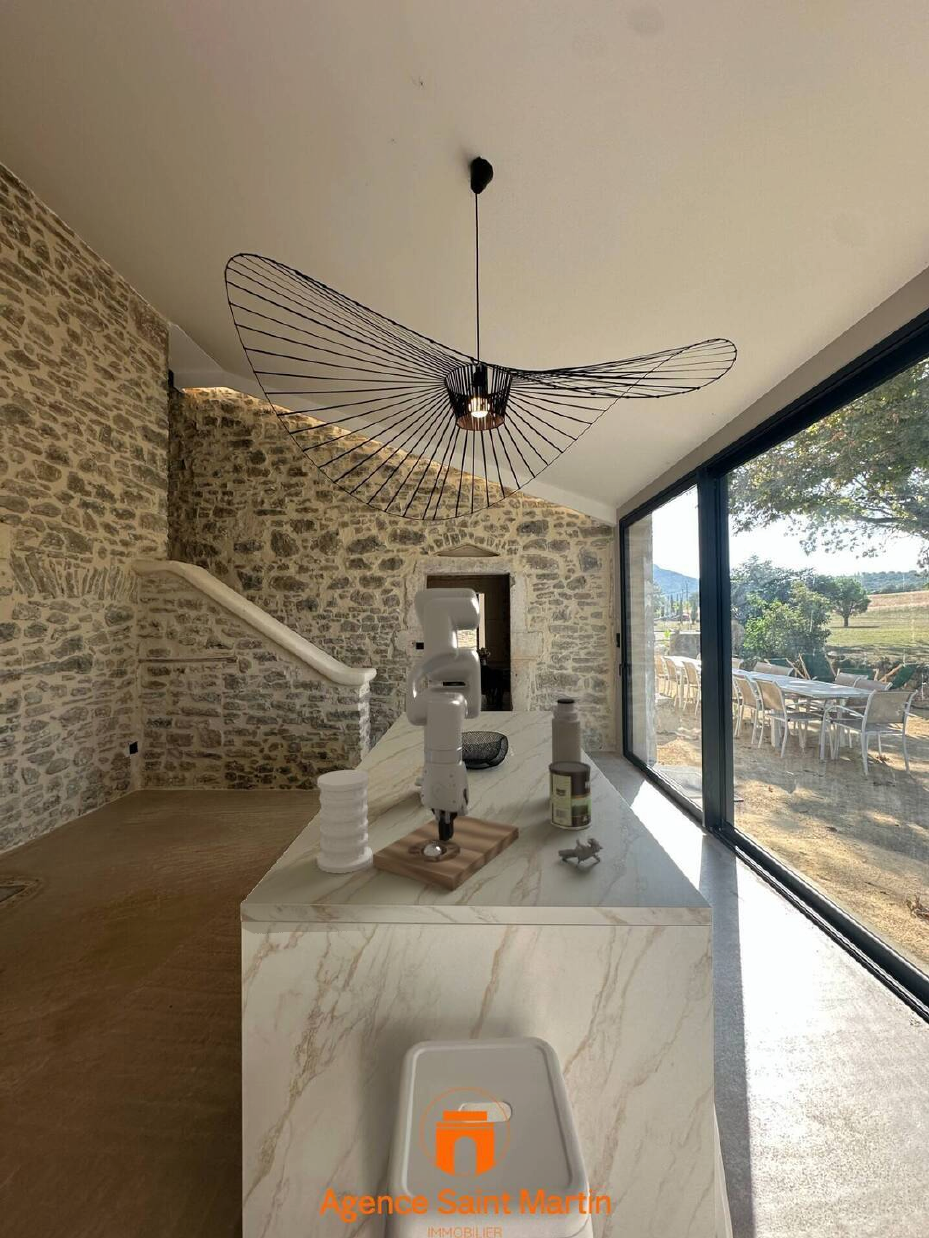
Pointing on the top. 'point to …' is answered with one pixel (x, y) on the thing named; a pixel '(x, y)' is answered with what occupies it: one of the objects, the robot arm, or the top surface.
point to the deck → (446, 851)
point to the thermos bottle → (566, 732)
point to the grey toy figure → (582, 851)
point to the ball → (432, 850)
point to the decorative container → (344, 821)
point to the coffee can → (570, 795)
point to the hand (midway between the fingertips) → (446, 838)
